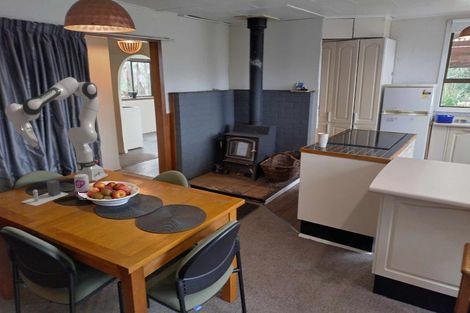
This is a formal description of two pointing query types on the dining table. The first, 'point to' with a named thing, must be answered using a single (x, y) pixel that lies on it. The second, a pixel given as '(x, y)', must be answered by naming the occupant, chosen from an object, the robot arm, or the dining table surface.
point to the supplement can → (81, 184)
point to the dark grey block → (53, 188)
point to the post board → (42, 198)
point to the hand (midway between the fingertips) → (36, 147)
